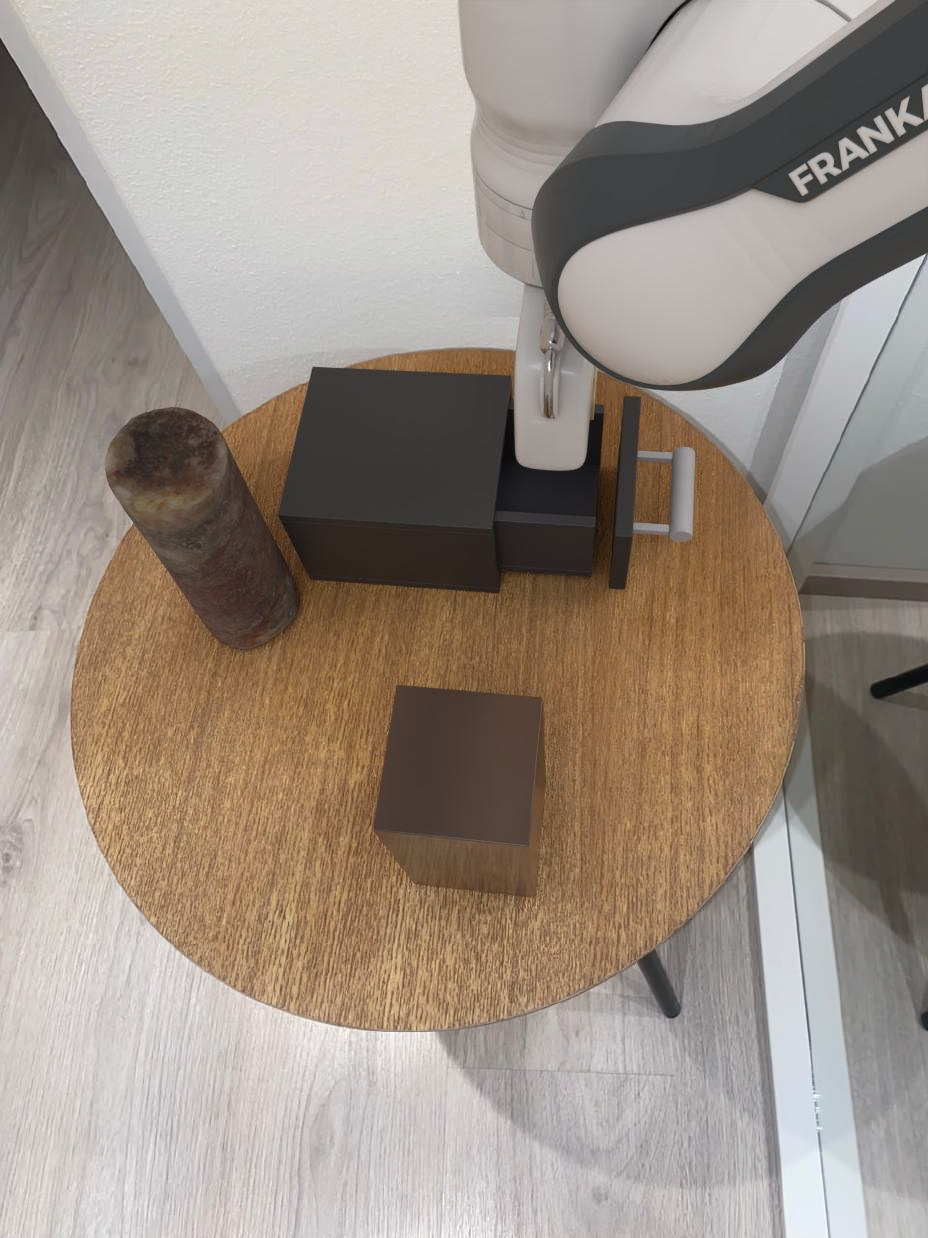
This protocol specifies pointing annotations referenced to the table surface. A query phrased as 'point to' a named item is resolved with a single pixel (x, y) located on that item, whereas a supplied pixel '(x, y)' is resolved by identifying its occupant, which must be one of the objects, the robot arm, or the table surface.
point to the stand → (464, 789)
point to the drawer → (583, 504)
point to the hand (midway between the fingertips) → (564, 380)
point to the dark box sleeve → (398, 478)
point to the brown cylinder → (202, 524)
